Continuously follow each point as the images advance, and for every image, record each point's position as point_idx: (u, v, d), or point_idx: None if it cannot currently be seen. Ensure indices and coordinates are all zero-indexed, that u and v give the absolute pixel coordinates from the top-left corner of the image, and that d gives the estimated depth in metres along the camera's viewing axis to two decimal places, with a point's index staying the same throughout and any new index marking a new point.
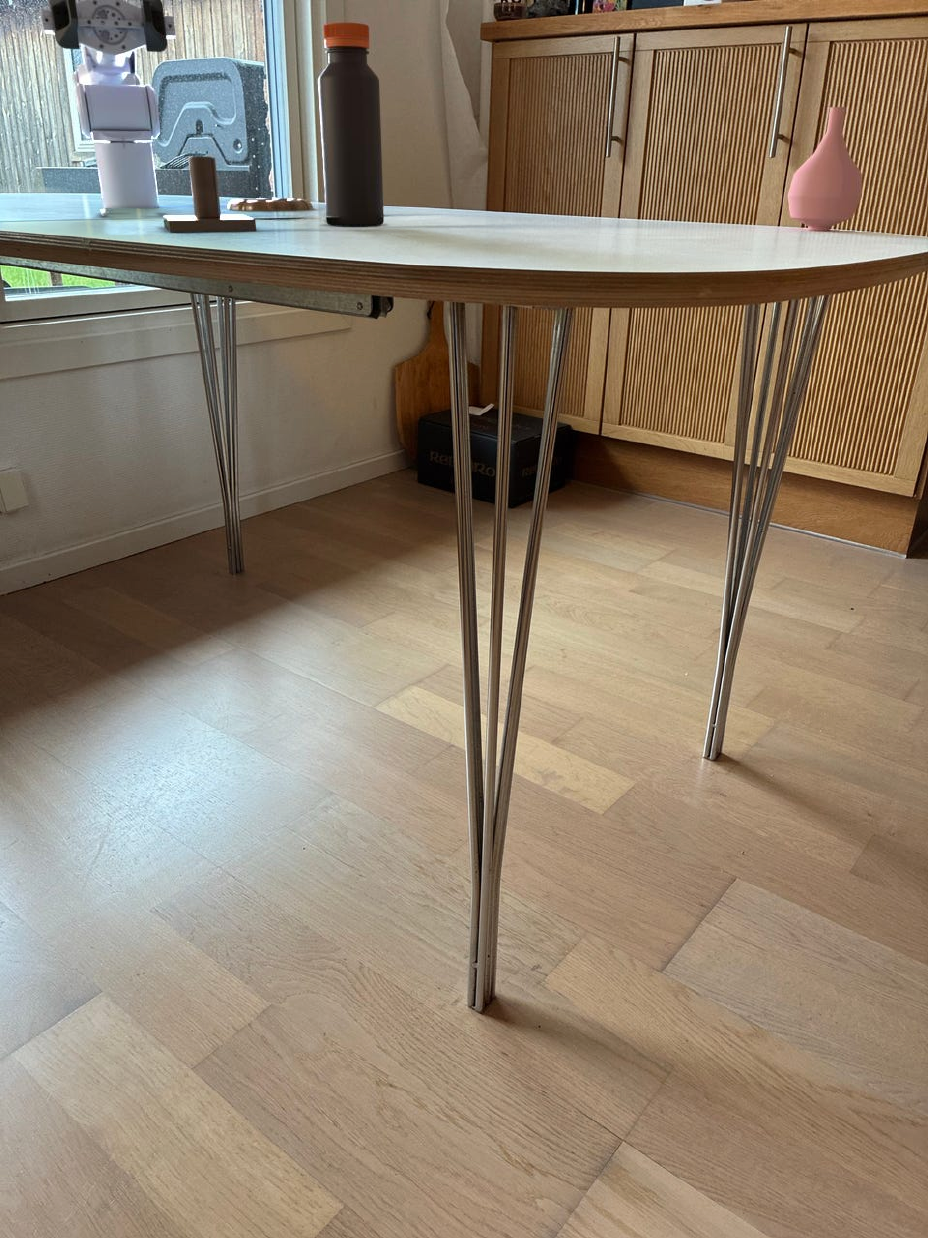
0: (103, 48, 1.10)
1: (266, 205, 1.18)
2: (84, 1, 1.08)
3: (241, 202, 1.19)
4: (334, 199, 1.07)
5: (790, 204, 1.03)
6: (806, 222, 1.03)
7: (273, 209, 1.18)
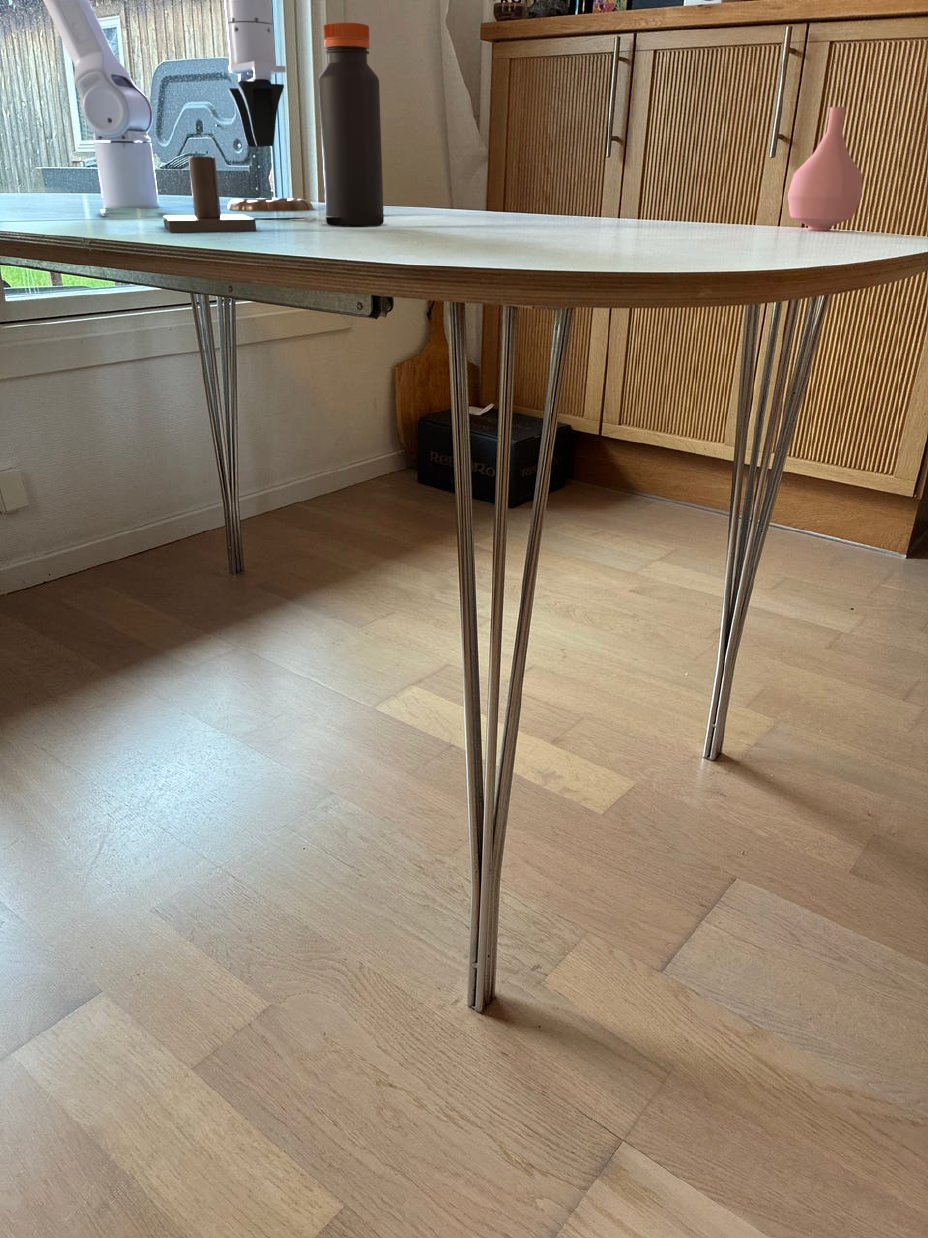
0: (235, 71, 1.18)
1: (266, 205, 1.18)
2: (274, 71, 1.18)
3: (241, 202, 1.19)
4: (334, 199, 1.07)
5: (790, 204, 1.03)
6: (806, 222, 1.03)
7: (273, 209, 1.18)
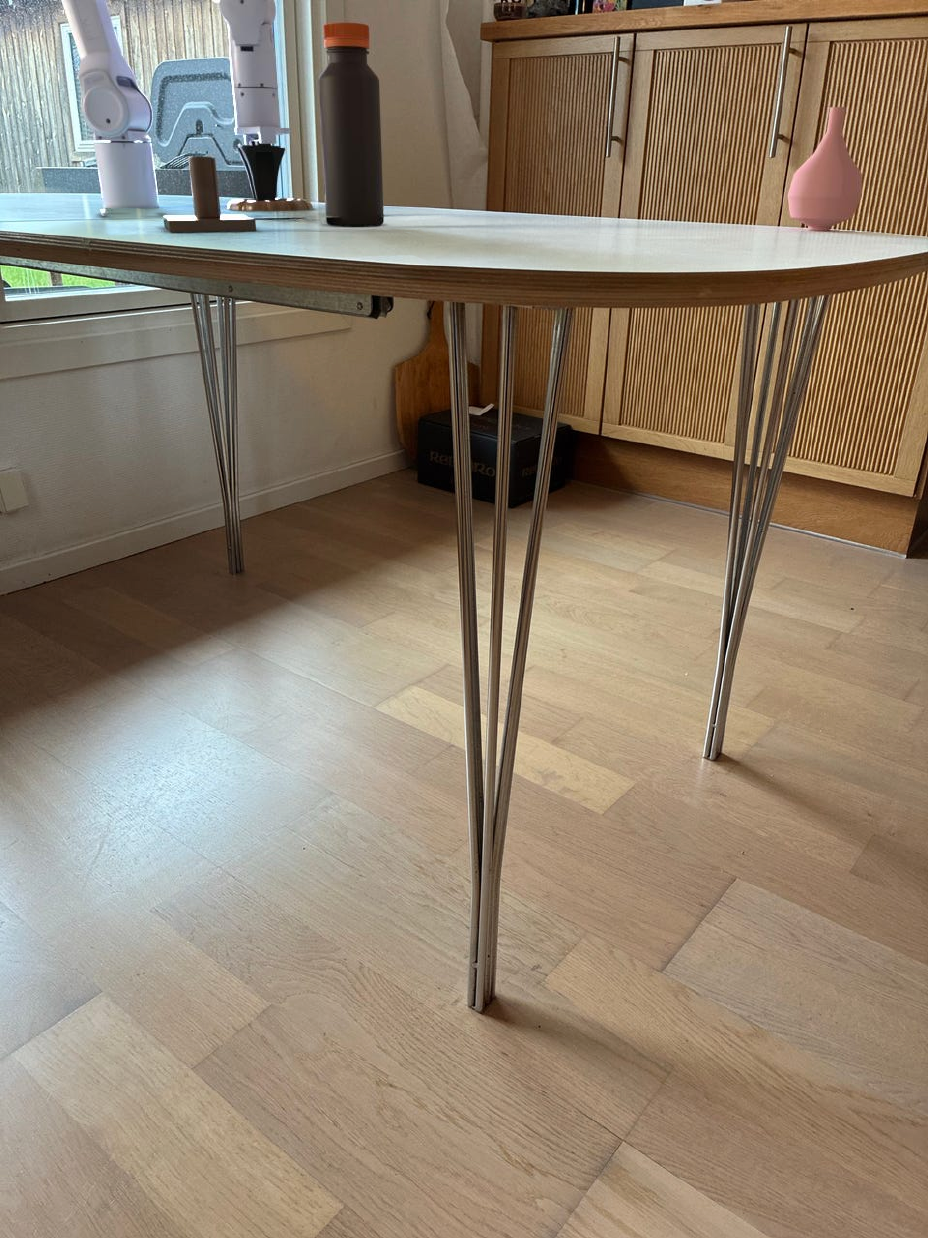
0: (241, 134, 1.21)
1: (266, 205, 1.18)
2: (278, 134, 1.22)
3: (241, 202, 1.19)
4: (334, 199, 1.07)
5: (790, 204, 1.03)
6: (806, 222, 1.03)
7: (273, 209, 1.18)
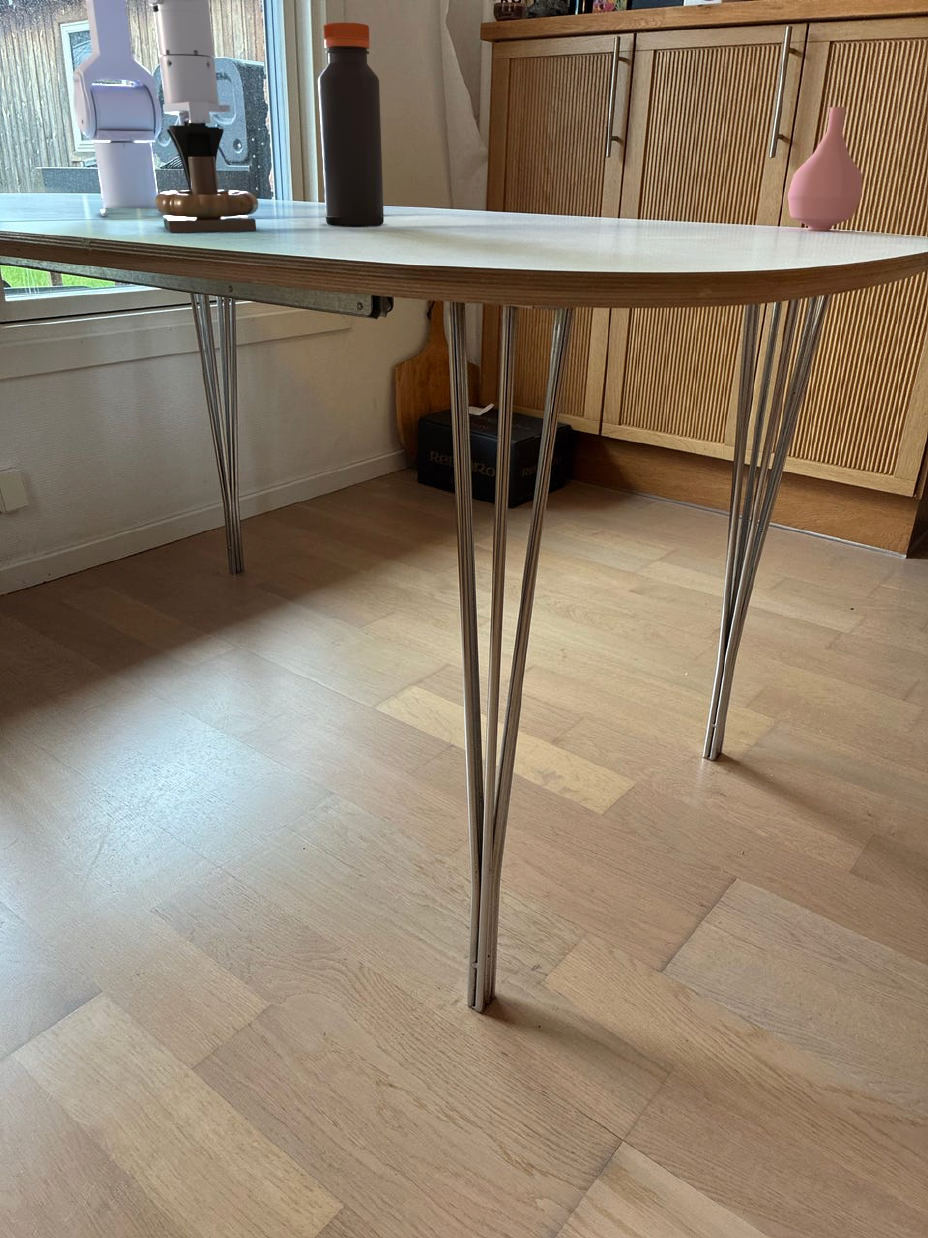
0: (170, 112, 1.01)
1: (199, 201, 0.98)
2: (215, 112, 1.01)
3: (169, 196, 0.99)
4: (334, 199, 1.07)
5: (790, 204, 1.03)
6: (806, 222, 1.03)
7: (207, 205, 0.98)
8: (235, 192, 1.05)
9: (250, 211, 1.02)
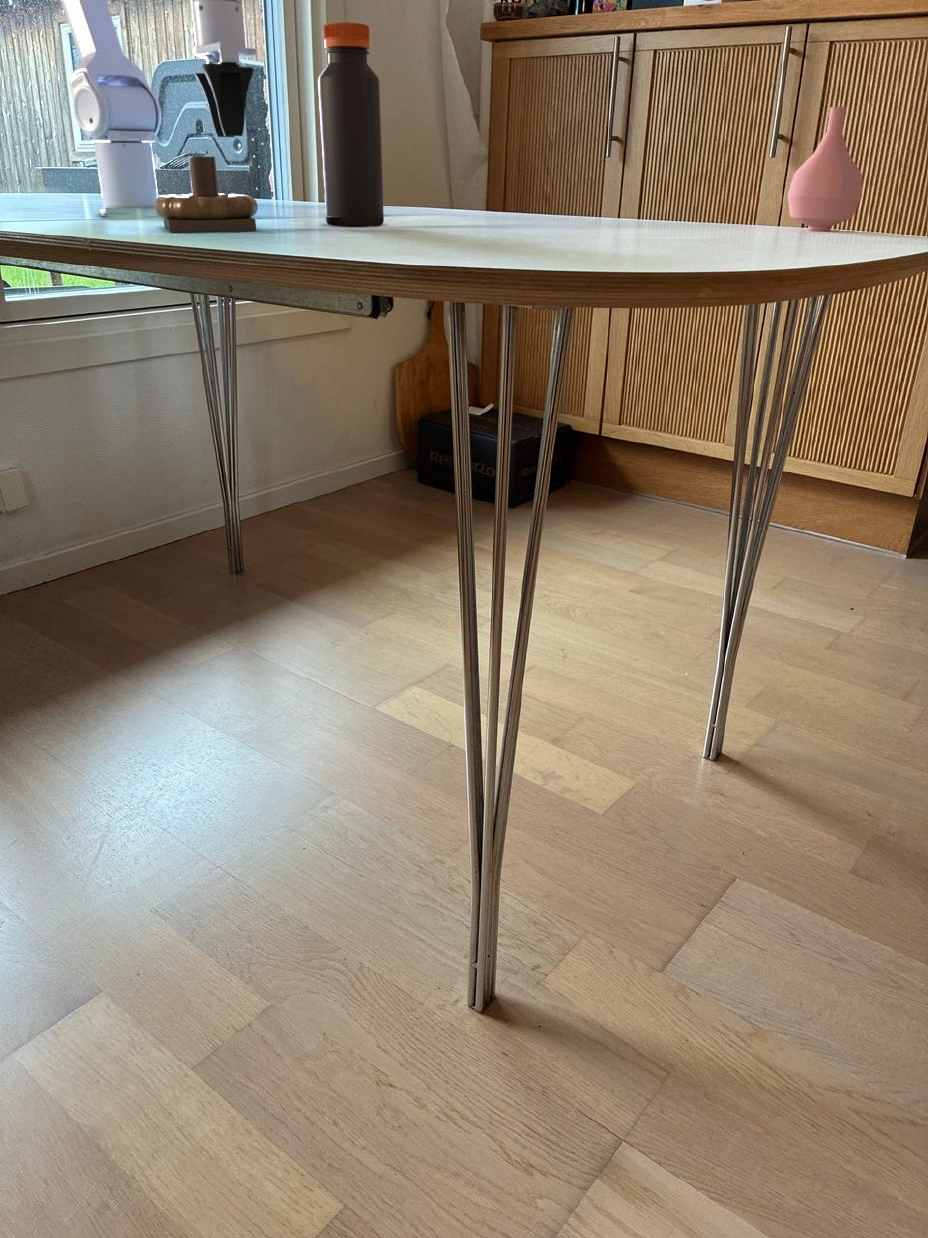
0: (201, 54, 1.08)
1: (198, 203, 0.98)
2: (243, 54, 1.09)
3: (168, 198, 0.99)
4: (334, 199, 1.07)
5: (790, 204, 1.03)
6: (806, 222, 1.03)
7: (206, 207, 0.98)
8: (235, 195, 1.05)
9: (249, 213, 1.02)
